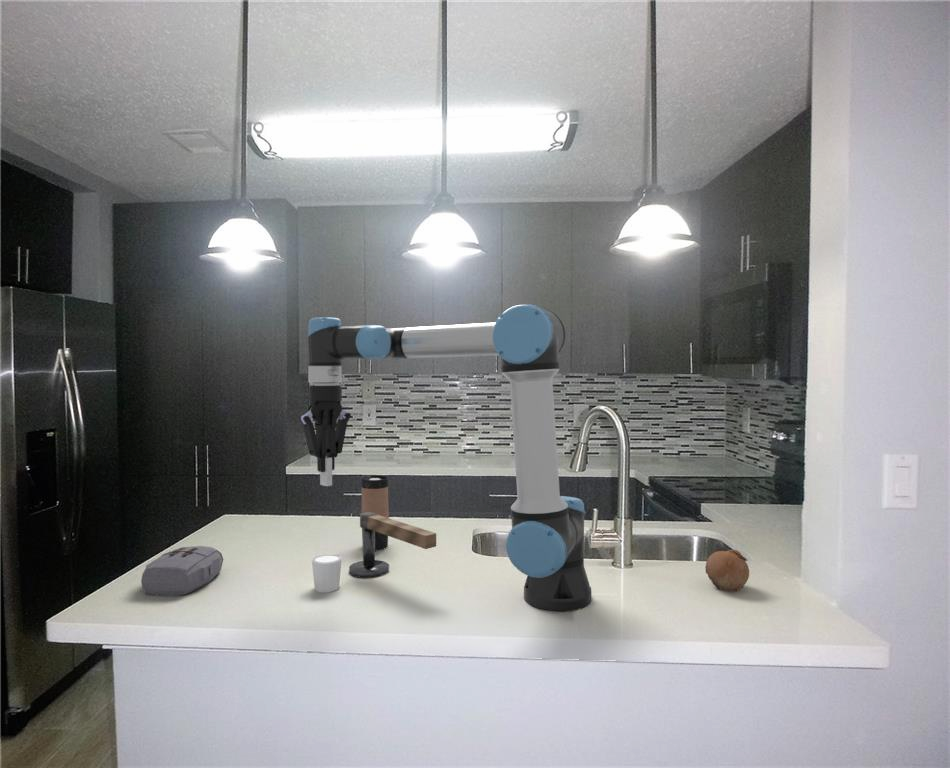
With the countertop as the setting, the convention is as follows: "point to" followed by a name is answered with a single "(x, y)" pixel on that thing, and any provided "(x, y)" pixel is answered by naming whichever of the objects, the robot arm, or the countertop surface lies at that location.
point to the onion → (727, 570)
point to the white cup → (326, 572)
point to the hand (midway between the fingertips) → (326, 484)
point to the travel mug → (376, 503)
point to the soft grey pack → (181, 571)
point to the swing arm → (398, 530)
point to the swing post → (368, 559)
